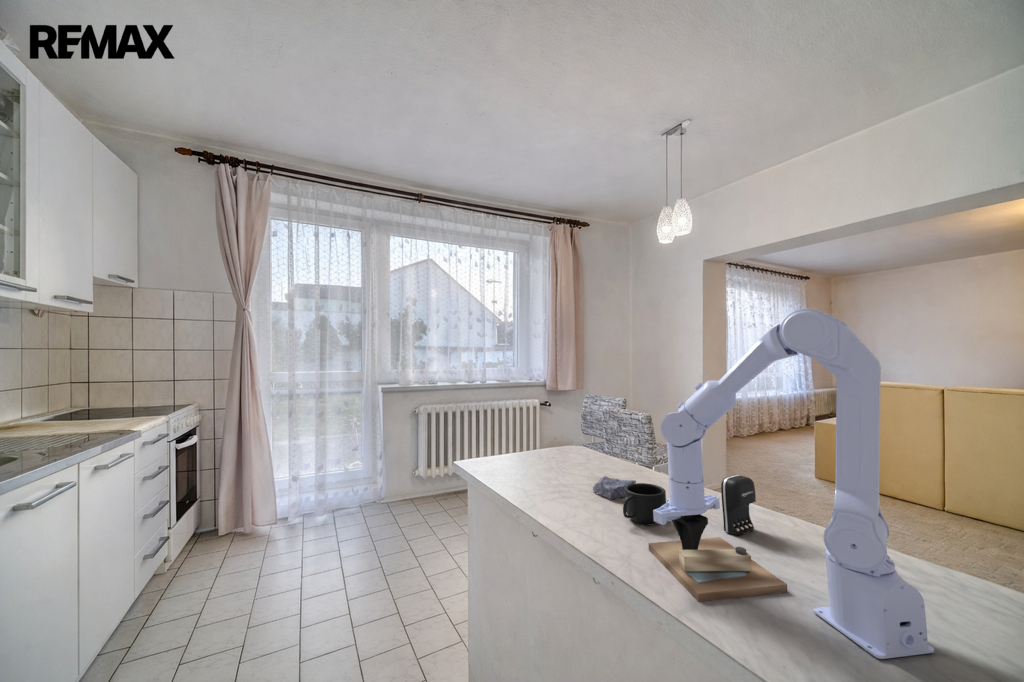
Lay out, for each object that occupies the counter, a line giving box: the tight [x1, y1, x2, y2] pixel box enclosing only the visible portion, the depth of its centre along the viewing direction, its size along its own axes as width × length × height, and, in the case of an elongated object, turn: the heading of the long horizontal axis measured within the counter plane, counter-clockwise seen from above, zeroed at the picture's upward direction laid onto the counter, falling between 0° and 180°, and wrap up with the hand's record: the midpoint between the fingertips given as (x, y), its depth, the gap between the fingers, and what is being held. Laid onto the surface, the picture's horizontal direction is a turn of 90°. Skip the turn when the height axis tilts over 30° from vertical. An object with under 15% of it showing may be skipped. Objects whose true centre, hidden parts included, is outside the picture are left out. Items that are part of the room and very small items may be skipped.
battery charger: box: [720, 474, 757, 536], centre depth 85 cm, size 7×4×11 cm, turn 117°
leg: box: [679, 546, 752, 571], centre depth 68 cm, size 11×2×3 cm, turn 87°
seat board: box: [648, 536, 789, 602], centre depth 70 cm, size 17×15×2 cm
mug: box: [622, 482, 667, 526], centre depth 91 cm, size 12×9×7 cm
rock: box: [592, 475, 637, 500], centre depth 110 cm, size 12×5×10 cm
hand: (690, 556), depth 70 cm, fingers closed
